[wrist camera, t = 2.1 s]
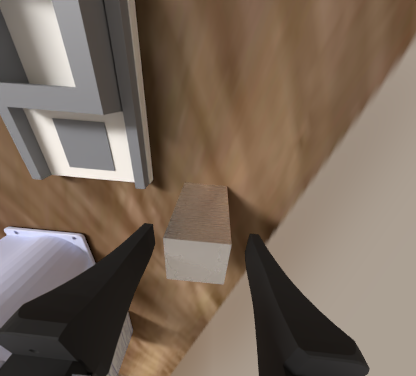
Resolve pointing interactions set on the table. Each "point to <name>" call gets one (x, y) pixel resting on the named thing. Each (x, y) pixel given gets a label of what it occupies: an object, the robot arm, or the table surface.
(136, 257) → the robot arm
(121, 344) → the medicine box
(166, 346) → the table surface
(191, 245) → the steel square block
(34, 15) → the frame
